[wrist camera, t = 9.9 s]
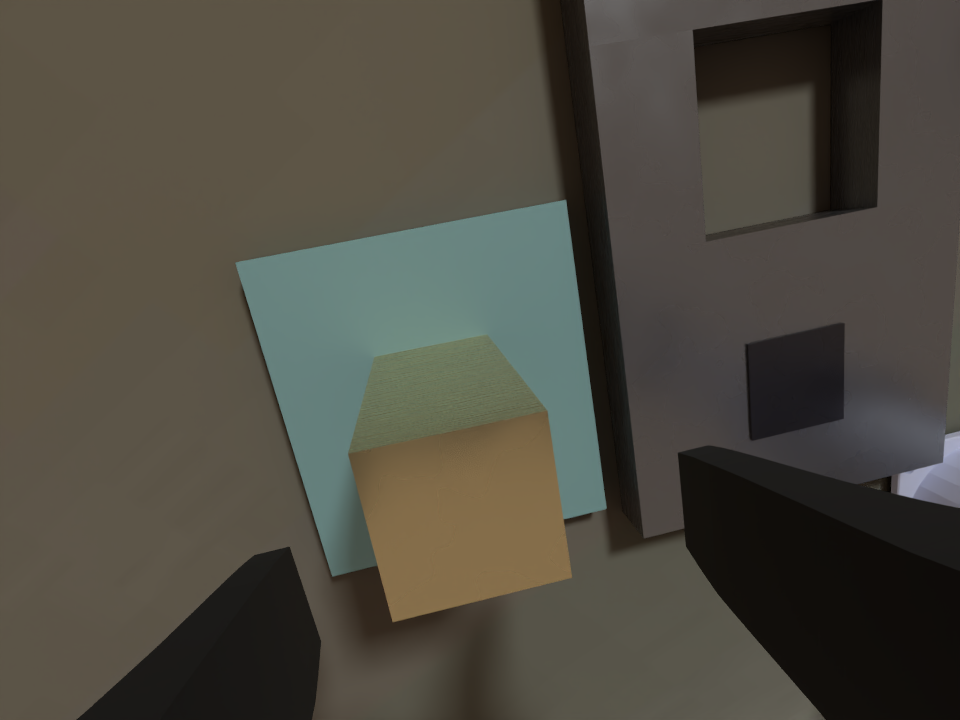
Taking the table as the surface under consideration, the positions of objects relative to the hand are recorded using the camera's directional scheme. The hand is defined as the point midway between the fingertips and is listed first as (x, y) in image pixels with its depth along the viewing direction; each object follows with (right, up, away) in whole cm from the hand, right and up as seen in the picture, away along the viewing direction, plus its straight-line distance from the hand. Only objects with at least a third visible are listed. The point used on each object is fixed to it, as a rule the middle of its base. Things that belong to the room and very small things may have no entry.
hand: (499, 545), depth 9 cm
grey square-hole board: (+10, +9, +10) cm, 17 cm away
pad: (-2, +2, +10) cm, 10 cm away
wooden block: (-2, +2, +9) cm, 9 cm away
